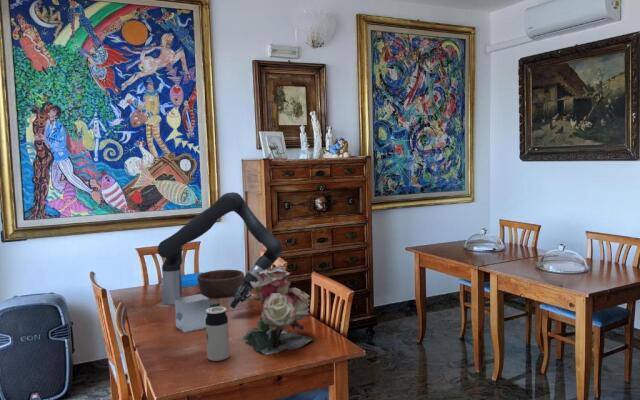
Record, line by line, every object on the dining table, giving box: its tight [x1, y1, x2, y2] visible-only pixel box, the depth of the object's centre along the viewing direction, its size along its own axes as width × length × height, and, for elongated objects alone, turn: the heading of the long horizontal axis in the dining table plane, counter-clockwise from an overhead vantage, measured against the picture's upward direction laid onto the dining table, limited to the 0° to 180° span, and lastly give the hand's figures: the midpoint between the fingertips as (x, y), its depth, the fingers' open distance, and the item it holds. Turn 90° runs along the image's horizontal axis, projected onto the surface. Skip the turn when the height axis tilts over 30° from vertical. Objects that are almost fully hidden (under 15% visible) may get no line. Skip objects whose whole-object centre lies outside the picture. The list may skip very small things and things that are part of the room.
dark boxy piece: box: [175, 299, 221, 319], centre depth 228 cm, size 18×6×8 cm, turn 124°
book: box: [161, 271, 204, 288], centre depth 307 cm, size 17×4×25 cm
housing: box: [174, 293, 210, 334], centre depth 226 cm, size 12×10×12 cm
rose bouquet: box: [242, 264, 314, 356], centre depth 204 cm, size 26×29×30 cm
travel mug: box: [205, 306, 230, 362], centre depth 190 cm, size 8×8×18 cm
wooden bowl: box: [197, 269, 245, 298], centre depth 283 cm, size 25×25×10 cm
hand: (231, 307), depth 236 cm, fingers closed
